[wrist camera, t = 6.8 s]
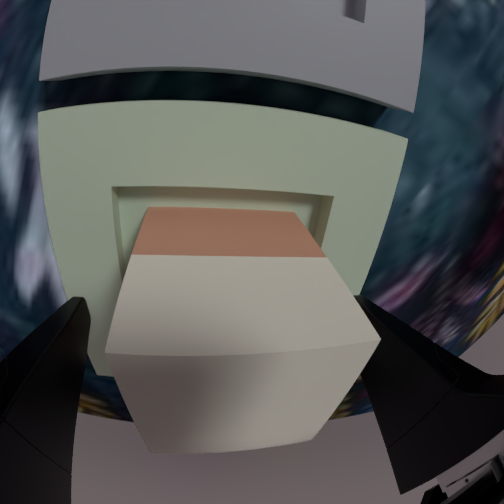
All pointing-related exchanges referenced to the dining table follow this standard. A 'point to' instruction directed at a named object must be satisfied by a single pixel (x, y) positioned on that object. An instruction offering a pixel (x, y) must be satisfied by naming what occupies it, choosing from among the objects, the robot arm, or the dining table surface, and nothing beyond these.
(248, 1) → the plate grey
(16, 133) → the dining table surface
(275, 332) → the block
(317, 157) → the plate green
